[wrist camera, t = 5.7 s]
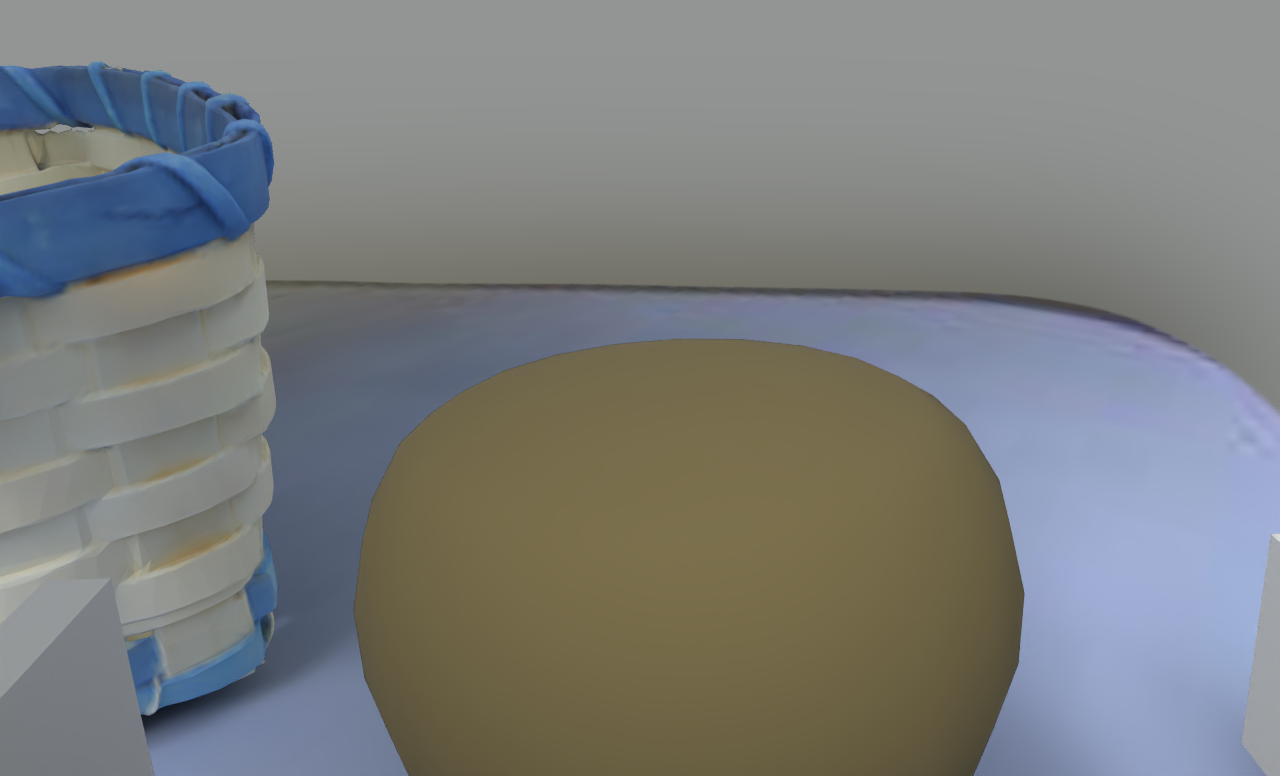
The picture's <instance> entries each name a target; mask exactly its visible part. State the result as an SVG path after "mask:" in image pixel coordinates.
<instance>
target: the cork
mask: <svg viewBox="0 0 1280 776" xmlns="http://www.w3.org/2000/svg"><path fill="white" fill-rule="evenodd" d="M1023 604H1024V589H1023V584H1022V579H1021V575H1020V570H1019V565H1018V561H1017V556H1016V551H1015V546H1014V542H1013V537H1012V532H1011V528H1010V523H1009V519H1008V515H1007V510H1006V506H1005V502H1004V498H1003V494H1002V490H1001V485H1000V481H999V479H998V477H997V476H996V474H995V472H994V471H993V469H992V467H991V466H990V464H989V462H988V461H987V459H986V458H985V456H984V454H983V453H982V451H981V449H980V448H979V446H978V444H977V443H976V441H975V440H974V438H973V436H972V435H971V433H970V431H969V430H968V428H967V426H966V425H965V424H964V423H963V422H962V421H961V420H960V419H959V418H958V417H956V416H955V415H954V414H953V413H952V412H951V411H950V410H949V409H947V408H946V407H945V406H944V405H943V404H942V403H941V402H940V401H939V400H937V399H936V398H935V397H934V396H933V395H931V394H929V393H927V392H926V391H924V390H922V389H920V388H918V387H917V386H915V385H913V384H911V383H909V382H908V381H906V380H904V379H902V378H900V377H899V376H896V375H894V374H892V373H889V372H887V371H885V370H882V369H880V368H878V367H876V366H873V365H871V364H869V363H866V362H864V361H862V360H859V359H857V358H853V357H849V356H845V355H840V354H836V353H832V352H827V351H823V350H819V349H814V348H810V347H806V346H800V345H791V344H781V343H772V342H762V341H753V340H743V339H671V340H659V341H647V342H635V343H623V344H614V345H608V346H602V347H597V348H591V349H586V350H580V351H575V352H569V353H563V354H558V355H554V356H551V357H547V358H544V359H541V360H538V361H534V362H531V363H528V364H524V365H521V366H518V367H515V368H511V369H508V370H505V371H502V372H500V373H499V374H497V375H495V376H493V377H491V378H489V379H487V380H485V381H483V382H481V383H479V384H477V385H475V386H473V387H471V388H469V389H467V390H465V391H463V392H461V393H460V394H458V395H457V396H455V397H454V398H453V399H451V400H450V401H448V402H447V403H445V404H444V405H442V406H441V407H439V408H438V409H436V410H435V411H433V412H432V413H431V414H430V415H428V416H427V417H426V418H425V419H424V420H423V421H422V422H421V423H420V424H419V425H418V426H417V427H416V428H415V429H414V430H413V431H412V432H411V433H410V434H409V435H408V436H407V437H406V438H405V439H404V440H403V441H402V442H401V443H400V444H399V446H398V448H397V450H396V452H395V454H394V456H393V458H392V460H391V462H390V464H389V466H388V468H387V470H386V472H385V474H384V476H383V478H382V480H381V482H380V484H379V487H378V489H377V491H376V493H375V495H374V497H373V499H372V502H371V506H370V511H369V515H368V519H367V524H366V528H365V532H364V536H363V541H362V547H361V555H360V563H359V571H358V579H357V587H356V595H355V603H354V617H355V623H356V629H357V635H358V641H359V647H360V653H361V659H362V665H363V671H364V677H365V680H366V683H367V685H368V687H369V689H370V692H371V694H372V696H373V698H374V701H375V703H376V705H377V707H378V710H379V712H380V714H381V716H382V719H383V721H384V723H385V725H386V728H387V730H388V732H389V734H390V737H391V739H392V741H393V743H394V745H395V747H396V749H397V752H398V754H399V756H400V758H401V760H402V762H403V764H404V766H405V769H406V771H407V773H408V775H409V776H973V775H974V773H975V770H976V768H977V766H978V763H979V761H980V759H981V756H982V754H983V752H984V749H985V747H986V745H987V742H988V740H989V738H990V736H991V733H992V731H993V729H994V726H995V723H996V721H997V718H998V715H999V713H1000V710H1001V708H1002V705H1003V702H1004V700H1005V697H1006V695H1007V692H1008V689H1009V687H1010V684H1011V682H1012V679H1013V676H1014V674H1015V671H1016V669H1017V666H1018V663H1019V651H1020V639H1021V628H1022V616H1023Z"/></svg>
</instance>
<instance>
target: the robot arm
mask: <svg viewBox="0 0 1280 776" xmlns="http://www.w3.org/2000/svg"><path fill="white" fill-rule="evenodd" d="M1242 744H1243V746H1244V747H1245V748H1246V750H1247V751H1248V752H1249V753H1250V755H1251V756H1252V757H1253V759H1254V760H1255V761H1256V762H1257V764H1258V765H1259V766H1260V768H1261V769H1262V770H1263V771H1264V773H1265V774H1266V775H1267V776H1280V534H1271V537H1270V545H1269V552H1268V559H1267V566H1266V573H1265V580H1264V587H1263V594H1262V601H1261V608H1260V615H1259V622H1258V630H1257V637H1256V644H1255V651H1254V658H1253V665H1252V672H1251V679H1250V686H1249V693H1248V700H1247V707H1246V715H1245V722H1244V729H1243V736H1242ZM0 776H154V772H153V768H152V763H151V758H150V754H149V749H148V745H147V740H146V736H145V731H144V727H143V722H142V718H141V713H140V708H139V704H138V699H137V695H136V690H135V686H134V681H133V677H132V672H131V668H130V663H129V659H128V654H127V649H126V645H125V640H124V636H123V631H122V627H121V622H120V618H119V613H118V609H117V604H116V599H115V595H114V590H113V586H112V581H111V578H108V579H82V580H56V581H44V582H43V583H42V584H41V585H40V586H39V587H38V588H37V589H36V590H35V591H34V592H33V593H32V594H31V595H30V596H29V597H28V598H27V599H26V600H25V601H24V602H23V603H22V604H21V605H20V606H19V607H18V608H17V609H16V610H15V611H14V612H13V613H12V614H11V615H9V616H8V617H7V618H6V619H5V620H4V621H3V622H2V623H1V624H0Z"/></svg>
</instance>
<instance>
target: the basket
mask: <svg viewBox="0 0 1280 776" xmlns="http://www.w3.org/2000/svg"><path fill="white" fill-rule="evenodd" d="M57 124H62V125H68V126H70V127H86V128H93V127H94V130H93V131H87V132H83V131H78V130H76V131H74V132H72V131H71V129H70V130H67V131H63V132H60V133H56V132H53V131H49V132H47V133H45V134H39V133H37V132H36V131H35V130H38V129H50V128H52V127H54V126H56V125H57ZM273 166H274V159H273V150H272V143H271V140H270V137H269V134H268V132H267V131H266V129H265V128H264V127H263V125H261V124H260V117H259V114H258V113H257V112H255V110H254V109H253V108H251V107H250V106H249V103H248V102H247V101H246V99H245V98H243V97H242V96H238V95H235V94H231V93H229V94H219V93H217V92H215V91H213V90H212V88H211V87H210V86H209V85H208V84H206V83H204V82H184V81H182V80H179V79H176V78H173V77H172V76H171V74H169V73H167V72H164V71H162V70H159V71H144V72H140V71H136V70H130V69H125V68H121V67H109V66H108V65H106V64H105V63H103V62H93V63H91V64H90V65H89V66H51V67H43V68H35V69H28V68H23V67H18V66H0V624H1V623H2V622H3V621H4V620H5V619H6V618H7V617H8V616H9V615H11V614H12V613H13V612H14V611H15V610H16V609H17V608H18V607H19V606H20V605H21V604H22V603H23V602H24V601H25V600H26V599H27V598H28V597H29V596H30V595H31V594H32V593H33V592H34V591H35V590H36V589H37V588H38V587H39V586H40V585H41V584H42V583H43V582H44V581H56V580H82V579H108V578H111V581H112V586H113V590H114V595H115V599H116V604H117V609H118V613H119V618H120V622H121V627H122V631H123V636H124V640H125V645H126V649H127V654H128V659H129V663H130V668H131V672H132V677H133V681H134V686H135V690H136V695H137V699H138V704H139V708H140V713H141V715H142V714H143V715H148V716H149V715H151V714H153V713H155V712H156V711H157V710H158V709H160V708H162V707H164V706H167V705H171V704H176V703H180V702H184V701H188V700H191V699H193V698H196V697H199V696H202V695H205V694H208V693H210V692H213V691H216V690H219V689H221V688H223V687H225V686H227V685H229V684H230V683H232V682H234V681H237V680H239V679H241V678H244V677H246V676H248V675H250V674H252V673H253V672H255V669H256V667H257V666H259V665H261V664H264V663H265V661H264V659H265V650H266V649H267V647H268V645H269V643H270V641H271V638H272V636H273V633H274V627H275V620H274V615H273V610H274V609H275V608H276V607H277V593H278V582H277V578H276V573H275V568H274V563H273V559H272V554H271V549H270V545H269V542H268V539H267V537H266V535H265V533H264V531H263V514H264V513H265V512H266V510H267V509H268V507H269V506H270V504H271V502H272V498H273V489H274V483H273V473H272V464H271V454H270V448H269V445H268V443H267V441H266V438H265V437H264V436H263V435H262V433H263V432H265V431H266V429H267V428H268V426H269V424H270V422H271V421H272V419H273V417H274V414H275V410H276V395H275V388H274V382H273V375H272V368H271V362H270V358H269V355H268V353H267V352H266V350H265V349H264V348H263V347H262V346H261V333H262V332H263V331H264V329H265V327H266V325H267V323H268V319H269V309H268V300H267V290H266V281H265V271H264V262H263V260H262V259H261V257H260V256H259V254H258V253H257V252H256V247H255V232H254V222H255V221H256V220H258V219H259V218H260V217H261V216H262V215H263V214H264V213H265V211H266V210H267V208H268V206H269V200H270V199H269V190H268V187H269V185H270V183H271V181H272V174H273Z"/></svg>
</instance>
